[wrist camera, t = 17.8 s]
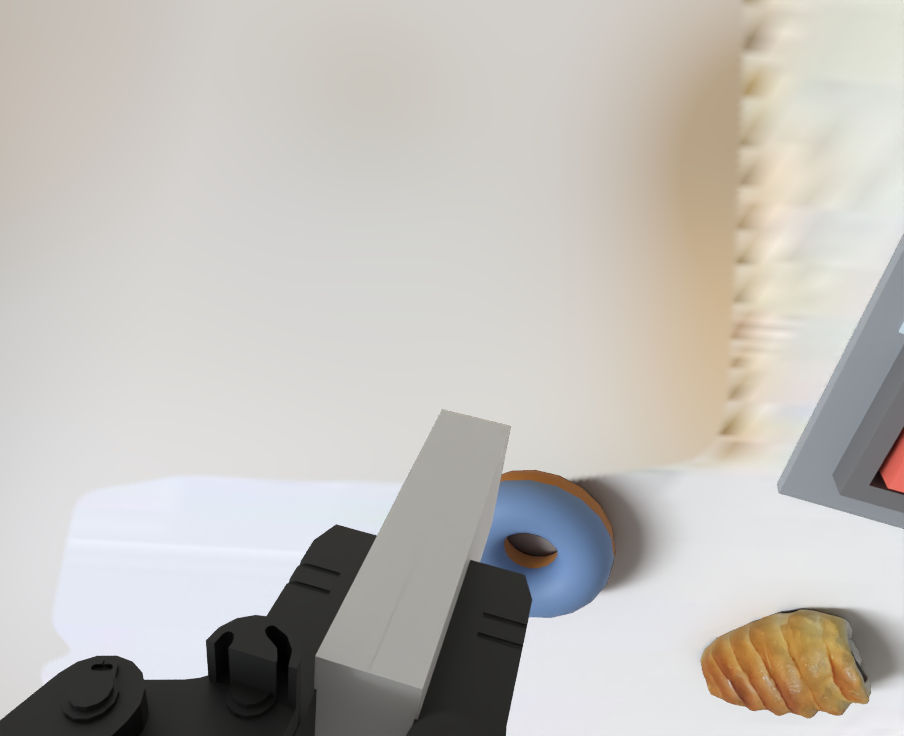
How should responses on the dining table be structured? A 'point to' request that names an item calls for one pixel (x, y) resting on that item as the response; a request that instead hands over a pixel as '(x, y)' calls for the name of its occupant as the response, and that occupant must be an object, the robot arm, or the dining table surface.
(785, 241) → the dining table surface
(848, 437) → the picture board
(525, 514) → the doughnut
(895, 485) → the button
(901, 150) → the dining table surface
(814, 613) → the pastry
